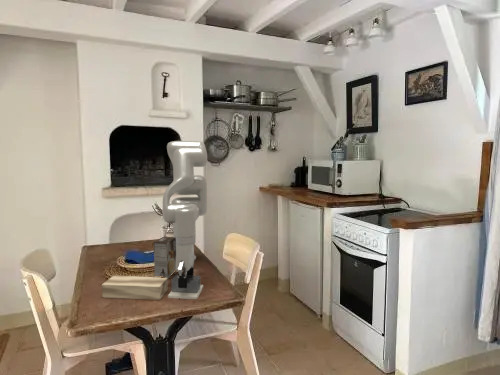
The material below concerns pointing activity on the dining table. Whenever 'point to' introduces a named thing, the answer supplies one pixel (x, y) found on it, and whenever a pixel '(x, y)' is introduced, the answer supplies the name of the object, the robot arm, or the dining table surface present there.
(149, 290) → the body
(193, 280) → the grey metal block
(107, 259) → the dining table surface
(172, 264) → the coffee box
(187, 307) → the dining table surface
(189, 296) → the tile
